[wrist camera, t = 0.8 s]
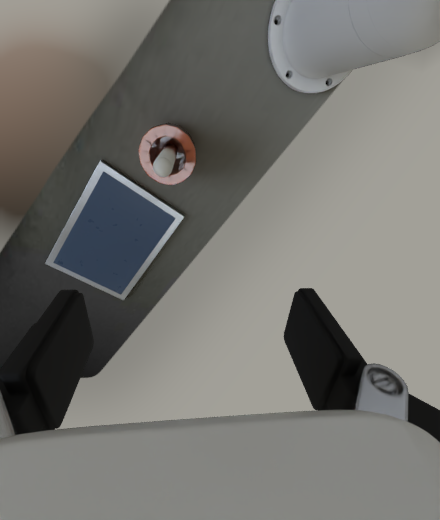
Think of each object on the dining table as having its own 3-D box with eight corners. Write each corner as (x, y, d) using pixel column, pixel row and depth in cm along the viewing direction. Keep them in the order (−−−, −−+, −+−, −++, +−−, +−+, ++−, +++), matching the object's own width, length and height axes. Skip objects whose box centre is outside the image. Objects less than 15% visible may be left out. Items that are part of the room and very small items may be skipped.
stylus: (169, 139, 35) (158, 154, 23) (180, 148, 36) (175, 166, 24) (162, 151, 36) (148, 171, 23) (173, 159, 37) (165, 182, 24)
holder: (163, 111, 34) (157, 110, 28) (204, 144, 37) (207, 151, 31) (138, 153, 36) (128, 162, 30) (178, 182, 39) (176, 195, 33)
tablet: (101, 159, 36) (99, 160, 35) (184, 215, 41) (184, 217, 41) (46, 261, 43) (44, 264, 42) (124, 297, 48) (123, 300, 47)
